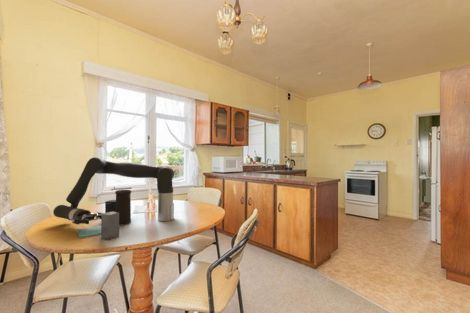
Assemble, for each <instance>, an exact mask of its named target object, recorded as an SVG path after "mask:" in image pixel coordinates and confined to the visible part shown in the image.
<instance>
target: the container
mask: <svg viewBox="0 0 470 313" xmlns="http://www.w3.org/2000/svg"><path fill="white" fill-rule="evenodd" d="M114 194H115V200H116V212H118V213H119V226H124V225H128V224H130V223H131V222H132V221H131V220H132V218H131V217H132V213H131V211H132V209H131V207H132V206H131V204H132V203H131V194H132V190H130V189H118V190H115V192H114Z"/></svg>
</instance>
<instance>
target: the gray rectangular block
mask: <svg viewBox="0 0 470 313" xmlns="http://www.w3.org/2000/svg"><path fill="white" fill-rule="evenodd" d="M102 213H103V214H101V219H100V220H101V221H100V222H101V223H100V224H101V225H100V226H101V235H100V236H101V238H100V239H102V240H106V241H111V240H113V239H117V238H119V237H120V225H119V213H118V212H113V211H112V212H107V213H105V212H102Z"/></svg>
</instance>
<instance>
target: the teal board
mask: <svg viewBox="0 0 470 313" xmlns="http://www.w3.org/2000/svg"><path fill="white" fill-rule="evenodd" d="M77 235H78V237H79V239H85V238H90V237H94V236H101V225H99V226H94V227H86V228H81V229H77Z"/></svg>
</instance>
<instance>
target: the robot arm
mask: <svg viewBox="0 0 470 313" xmlns="http://www.w3.org/2000/svg"><path fill="white" fill-rule="evenodd" d="M95 174H99V175H101V174H103V175H104V174H108V175H117V176H121V177H127V178H135V179H146V178H147V179H148V178H149V179H150V178H152V179H156V187H157V220H158V222H168V221H169V222H170V221H173V219H175V203H174V187H173V178H174V177H175V171H174V169H173V168H171V167H169V166H151V165H148V164H143V163H136V162H128V161H127V162H126V161H125V162H113V161H109V160H105V159H102V158H99V157H92V158H90V159H88V160H87V161H86V164H85V165H84V168H83V170H82V172H81V173H80V176H79V178H78V180H77V182H75V183H76V184H75V185H74V186H73V188H72V189H71V191H70V192H69V193H68V195H67V197H66V198H65V201H66V202H67V203H69V204H70V205H69V206H68V205H64V204H58V205H57V206H56V207H55V208H54V209H53V210H52V213H53V215H54V216H55V217H56V218H61V219H66V220H68V221H71V223H72V224H75V225H80V224H81V225H85V224H86V225H90V222H91V221H98V220H101V214H103V213H104V212H99V211H97V212H96V213H93V212H91V211H90V210H88V209H85V208H78V207H79V204H80V202H81V201H82V200H83V197H84V196H85V194H86V193H87V190H88V187H89V184H90V182H91V180H92V179H93V177H94V176H95Z"/></svg>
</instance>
